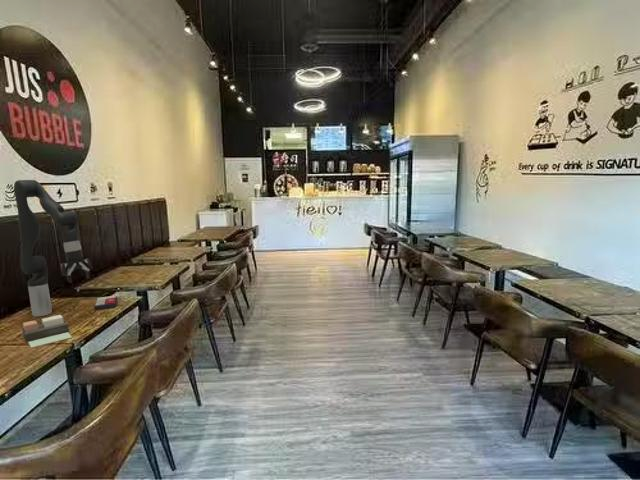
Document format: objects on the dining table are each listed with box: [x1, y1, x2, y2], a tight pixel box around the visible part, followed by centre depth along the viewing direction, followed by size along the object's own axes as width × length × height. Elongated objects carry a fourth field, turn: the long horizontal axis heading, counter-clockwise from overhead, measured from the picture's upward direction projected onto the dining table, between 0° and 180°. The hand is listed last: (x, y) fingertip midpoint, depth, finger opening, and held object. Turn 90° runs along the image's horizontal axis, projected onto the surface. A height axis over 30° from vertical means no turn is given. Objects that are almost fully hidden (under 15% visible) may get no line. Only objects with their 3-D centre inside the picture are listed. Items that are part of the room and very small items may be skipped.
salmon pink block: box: [22, 320, 39, 332], centre depth 193 cm, size 6×5×3 cm
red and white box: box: [93, 295, 118, 311], centre depth 240 cm, size 11×4×15 cm
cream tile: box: [41, 314, 65, 327], centre depth 199 cm, size 6×8×3 cm
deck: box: [21, 319, 70, 343], centre depth 197 cm, size 12×17×4 cm
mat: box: [27, 332, 73, 349], centre depth 189 cm, size 9×16×1 cm, turn 132°
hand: (79, 280), depth 212 cm, fingers open, 8 cm apart
